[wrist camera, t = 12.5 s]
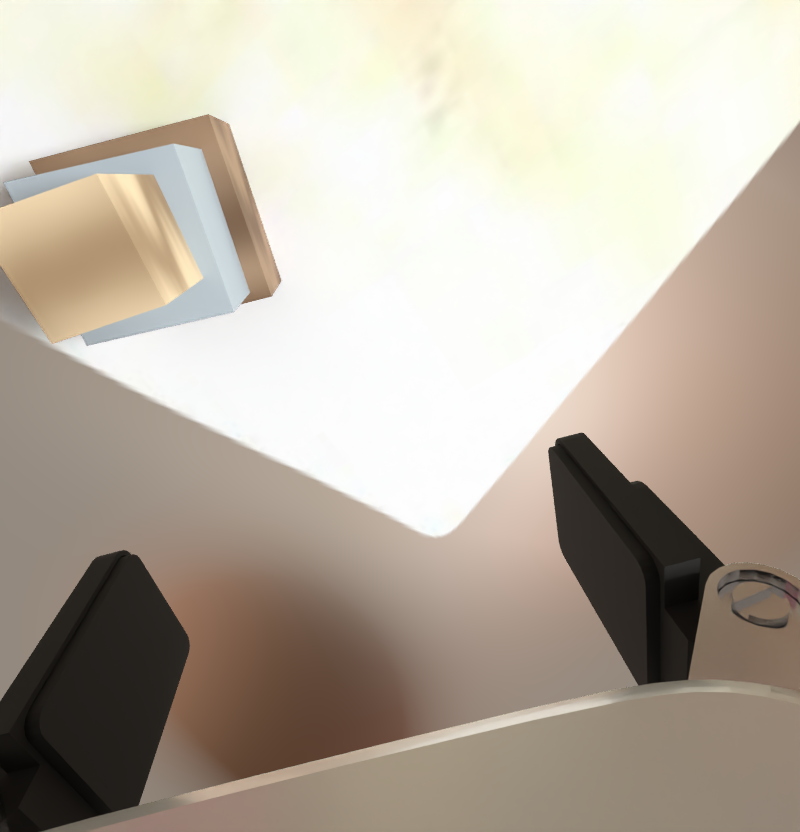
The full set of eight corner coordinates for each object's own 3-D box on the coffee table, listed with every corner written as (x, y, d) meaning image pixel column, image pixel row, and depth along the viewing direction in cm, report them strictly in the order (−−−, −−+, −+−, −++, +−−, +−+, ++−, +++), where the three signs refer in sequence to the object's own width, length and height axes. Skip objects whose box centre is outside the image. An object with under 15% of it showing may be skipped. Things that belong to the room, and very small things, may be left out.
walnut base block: (78, 164, 32) (28, 161, 27) (229, 124, 32) (208, 114, 27) (148, 314, 36) (117, 336, 31) (281, 280, 36) (271, 296, 31)
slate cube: (59, 181, 27) (3, 182, 23) (201, 149, 27) (173, 143, 23) (124, 321, 31) (86, 345, 26) (250, 292, 31) (233, 312, 26)
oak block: (55, 209, 24) (-32, 218, 18) (153, 174, 23) (96, 173, 18) (113, 309, 26) (51, 343, 20) (203, 278, 26) (165, 305, 20)
